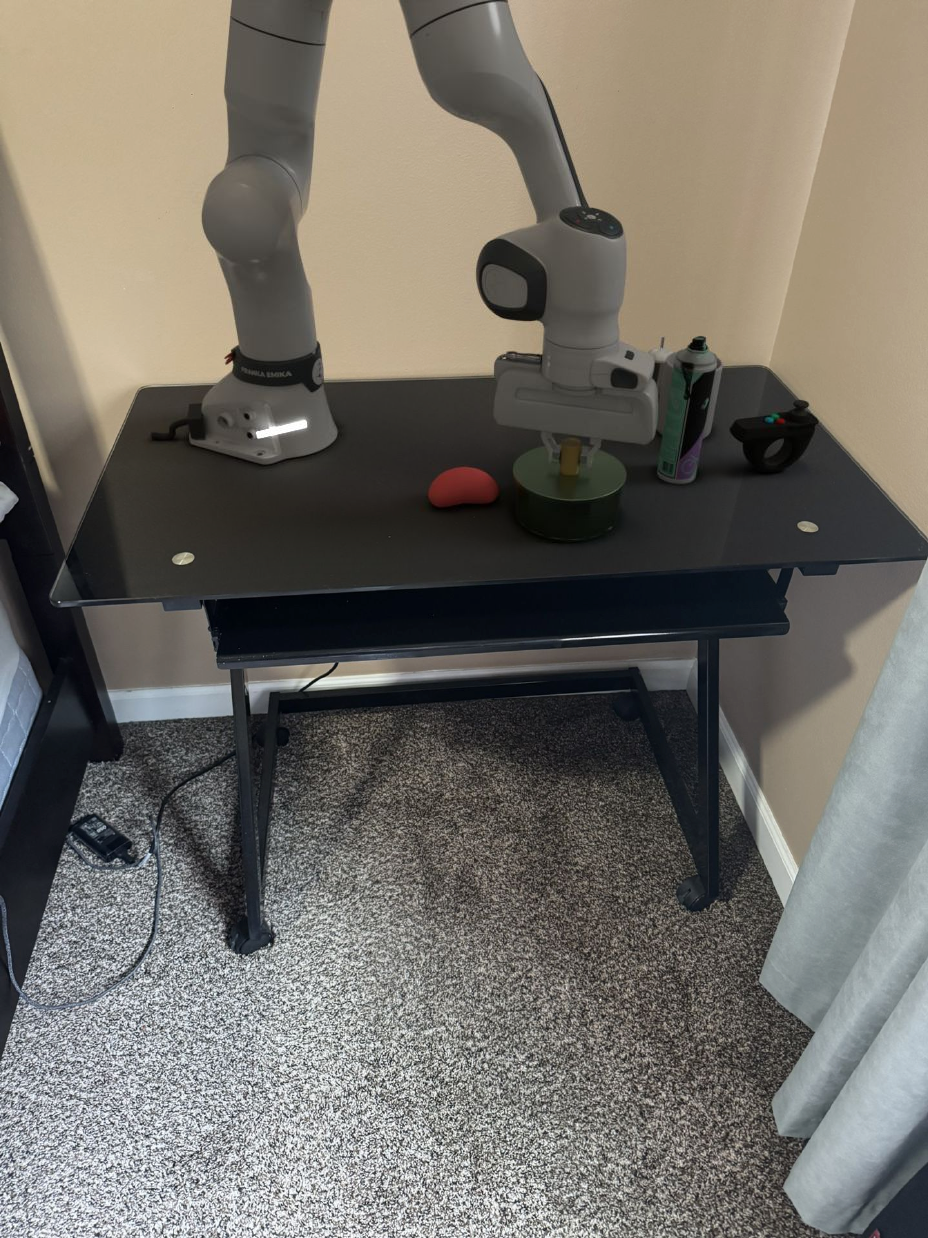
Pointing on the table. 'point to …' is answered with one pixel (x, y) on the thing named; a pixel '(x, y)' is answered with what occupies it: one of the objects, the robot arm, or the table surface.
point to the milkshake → (659, 364)
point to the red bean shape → (462, 487)
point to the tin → (566, 517)
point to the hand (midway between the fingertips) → (570, 462)
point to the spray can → (686, 412)
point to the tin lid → (569, 475)
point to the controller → (776, 436)
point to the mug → (666, 388)
